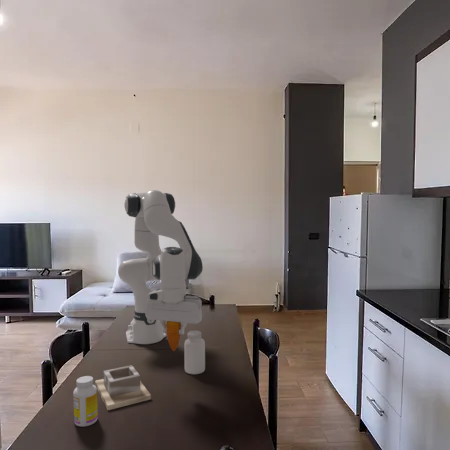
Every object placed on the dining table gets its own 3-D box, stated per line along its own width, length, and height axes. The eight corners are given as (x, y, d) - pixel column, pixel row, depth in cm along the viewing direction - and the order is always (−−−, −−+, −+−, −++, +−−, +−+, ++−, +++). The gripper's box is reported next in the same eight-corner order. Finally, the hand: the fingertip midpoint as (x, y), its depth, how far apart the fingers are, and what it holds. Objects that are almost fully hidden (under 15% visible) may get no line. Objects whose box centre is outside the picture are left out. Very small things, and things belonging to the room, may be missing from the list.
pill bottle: (186, 376, 146) (186, 336, 145) (183, 367, 154) (182, 330, 153) (207, 373, 148) (206, 334, 147) (202, 365, 156) (202, 328, 155)
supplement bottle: (100, 415, 120) (99, 374, 119) (94, 427, 113) (92, 384, 112) (78, 415, 119) (77, 374, 119) (70, 428, 113) (69, 384, 112)
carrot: (174, 347, 140) (173, 306, 139) (183, 350, 137) (183, 309, 136) (163, 351, 136) (163, 309, 135) (173, 355, 133) (173, 312, 132)
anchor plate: (95, 384, 140) (94, 367, 139) (133, 376, 146) (133, 359, 146) (107, 410, 122) (107, 390, 122) (150, 399, 129) (150, 380, 129)
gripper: (204, 294, 136) (204, 333, 137) (151, 290, 141) (151, 327, 142) (198, 298, 130) (198, 339, 131) (142, 294, 135) (143, 333, 136)
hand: (173, 333), depth 136 cm, fingers closed on carrot, 4 cm apart
